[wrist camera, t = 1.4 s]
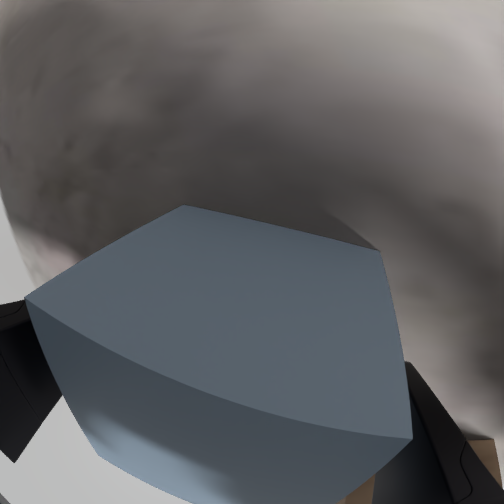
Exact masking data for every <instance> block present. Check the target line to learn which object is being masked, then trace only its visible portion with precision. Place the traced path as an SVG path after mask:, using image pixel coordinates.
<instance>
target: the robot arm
mask: <svg viewBox="0 0 504 504" xmlns="http://www.w3.org/2000/svg"><path fill="white" fill-rule="evenodd" d="M404 363H405V370H406V377H407V384H408V392H409V400H410V410H411V421H412V434H413V439H412V440H411V441H410V442H409V443H408V444H407V445H406V446H405V447H404V448H403V449H402V450H401V451H400V452H399V453H398V454H397V455H396V456H395V457H394V458H392V459H391V460H390V461H389V462H388V463H387V464H386V465H385V466H384V467H382V468H381V469H380V470H379V471H378V472H377V473H375V480H374V488H373V496H372V503H371V504H504V490H503V488H502V487H501V486H500V485H499V483H498V482H497V481H496V479H495V478H494V477H493V476H492V474H491V473H490V472H489V470H488V469H487V468H486V466H485V465H484V464H483V463H482V461H481V460H480V458H479V457H478V456H477V454H476V453H475V451H474V450H473V448H472V447H471V445H470V444H469V442H468V441H466V438H465V437H464V435H463V434H462V432H461V431H460V429H459V428H458V426H457V425H456V424H455V422H454V421H453V419H452V418H451V416H450V415H449V414H448V412H447V411H446V409H445V408H444V407H443V405H442V404H441V402H440V401H439V400H438V398H437V397H436V396H435V394H434V393H433V391H432V390H431V389H430V387H429V386H428V385H427V383H426V382H425V381H424V379H423V378H422V377H421V375H420V374H419V373H418V371H417V370H416V369H415V367H414V366H413V365H412V364H411V363H410V362H407V361H404ZM62 395H63V394H62V392H61V390H60V388H59V386H58V384H57V382H56V380H55V378H54V376H53V374H52V372H51V369H50V367H49V365H48V362H47V360H46V358H45V355H44V353H43V350H42V348H41V345H40V343H39V340H38V338H37V335H36V332H35V329H34V327H33V324H32V321H31V318H30V315H29V312H28V309H27V306H26V302H25V300H20V301H17V302H12V303H7V304H2V305H0V450H1V451H2V452H3V453H4V454H5V455H6V456H7V457H8V458H9V459H10V460H11V461H12V462H13V463H15V462H16V461H17V460H18V458H19V456H20V455H21V453H22V452H23V450H24V449H25V447H26V446H27V444H28V443H29V441H30V440H31V439H32V437H33V436H34V434H35V433H36V431H37V430H38V429H39V427H40V426H41V424H42V422H43V421H44V420H45V418H46V417H47V416H48V414H49V413H50V411H51V410H52V409H53V407H54V406H55V405H56V403H57V402H58V401H59V399H60V398H61V397H62ZM0 504H10V503H9V502H8V501H7V500H6V499H5V498H4V497H3V496H2V495H1V494H0Z"/></svg>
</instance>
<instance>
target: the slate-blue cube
mask: <svg viewBox="0 0 504 504" xmlns="http://www.w3.org/2000/svg"><path fill="white" fill-rule="evenodd" d="M24 299H25V302H26V306H27V309H28V312H29V315H30V318H31V321H32V324H33V327H34V329H35V332H36V335H37V338H38V340H39V343H40V345H41V348H42V350H43V353H44V355H45V358H46V360H47V362H48V365H49V367H50V369H51V372H52V374H53V376H54V378H55V380H56V382H57V384H58V386H59V388H60V390H61V392H62V394H63V396H64V398H65V400H66V402H67V404H68V406H69V408H70V410H71V412H72V413H73V415H74V417H75V419H76V420H77V422H78V424H79V426H80V427H81V429H82V431H83V432H84V434H85V435H86V437H87V439H88V440H89V442H90V443H91V445H92V446H93V448H94V449H95V451H96V453H97V454H98V455H99V456H100V457H102V458H103V459H105V460H107V461H108V462H110V463H112V464H113V465H115V466H117V467H118V468H120V469H122V470H123V471H125V472H127V473H129V474H131V475H132V476H135V477H137V478H138V479H140V480H142V481H144V482H146V483H148V484H150V485H152V486H154V487H156V488H158V489H160V490H162V491H165V492H167V493H169V494H171V495H174V496H176V497H178V498H181V499H183V500H185V501H188V502H190V503H193V504H336V503H337V502H339V501H340V500H342V499H343V498H344V497H346V496H347V495H349V494H350V493H351V492H353V491H354V490H355V489H357V488H358V487H359V486H360V485H362V484H363V483H364V482H366V481H367V480H368V479H369V478H371V477H372V476H373V475H374V474H375V473H377V472H378V471H379V470H380V469H381V468H382V467H384V466H385V465H386V464H387V463H388V462H389V461H390V460H391V459H392V458H394V457H395V456H396V455H397V454H398V453H399V452H400V451H401V450H402V449H403V448H404V447H405V446H406V445H407V444H408V443H409V442H410V441H411V440H412V439H413V434H412V421H411V410H410V400H409V392H408V384H407V377H406V370H405V363H404V357H403V351H402V345H401V340H400V334H399V329H398V324H397V319H396V314H395V310H394V305H393V301H392V297H391V292H390V288H389V284H388V280H387V276H386V272H385V268H384V265H383V261H382V257H381V254H380V251H377V250H373V249H369V248H365V247H362V246H358V245H354V244H350V243H346V242H342V241H338V240H334V239H330V238H326V237H323V236H319V235H314V234H310V233H306V232H302V231H298V230H294V229H290V228H286V227H282V226H277V225H273V224H269V223H265V222H260V221H256V220H252V219H247V218H243V217H238V216H234V215H230V214H225V213H221V212H216V211H211V210H207V209H202V208H198V207H193V206H188V205H182V206H180V207H178V208H176V209H174V210H172V211H170V212H168V213H166V214H164V215H162V216H160V217H159V218H157V219H155V220H153V221H151V222H149V223H147V224H145V225H143V226H142V227H140V228H138V229H136V230H134V231H132V232H131V233H129V234H127V235H125V236H123V237H122V238H120V239H118V240H116V241H114V242H113V243H111V244H109V245H107V246H106V247H104V248H102V249H100V250H99V251H97V252H95V253H94V254H92V255H90V256H89V257H87V258H85V259H84V260H82V261H80V262H79V263H77V264H75V265H74V266H72V267H70V268H69V269H67V270H65V271H64V272H62V273H61V274H59V275H57V276H56V277H54V278H53V279H51V280H50V281H48V282H46V283H45V284H43V285H42V286H40V287H39V288H37V289H36V290H34V291H33V292H31V293H30V294H28V295H27V296H26V297H24Z"/></svg>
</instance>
